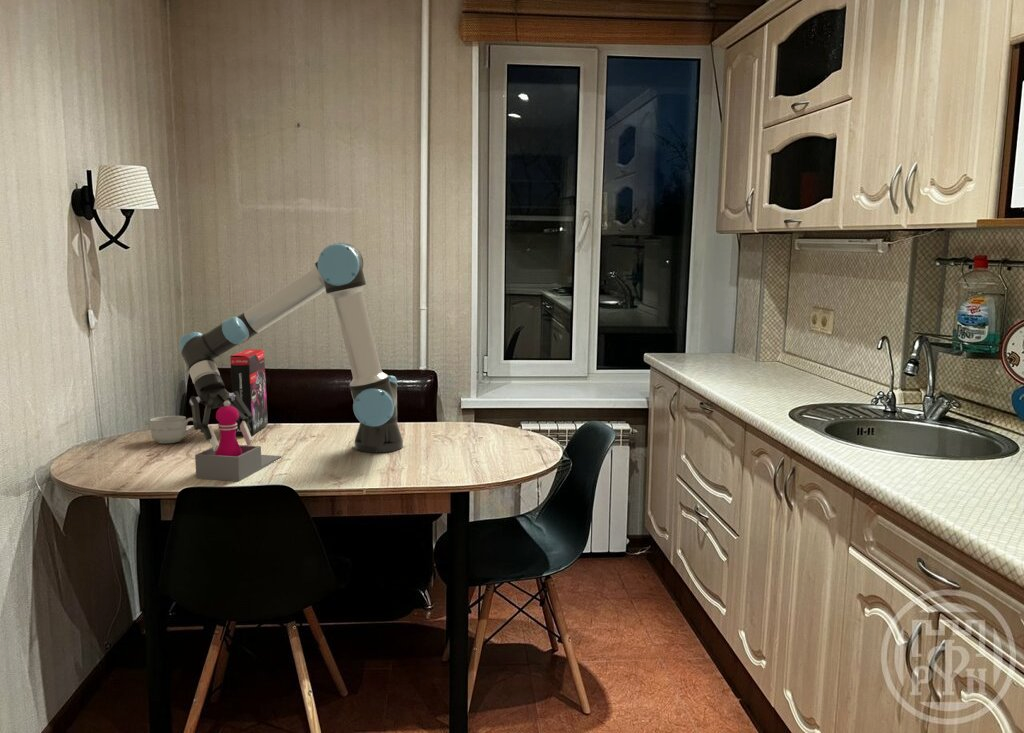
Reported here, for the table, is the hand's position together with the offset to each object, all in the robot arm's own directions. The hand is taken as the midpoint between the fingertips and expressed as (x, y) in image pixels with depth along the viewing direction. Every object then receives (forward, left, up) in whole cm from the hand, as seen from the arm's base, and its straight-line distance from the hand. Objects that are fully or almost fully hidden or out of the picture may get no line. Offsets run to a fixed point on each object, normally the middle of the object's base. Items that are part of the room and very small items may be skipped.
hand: (233, 445), depth 221 cm
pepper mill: (+3, -2, -8) cm, 9 cm away
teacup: (+39, -32, -9) cm, 51 cm away
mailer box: (+3, -8, -9) cm, 12 cm away
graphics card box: (+23, -52, -9) cm, 57 cm away
